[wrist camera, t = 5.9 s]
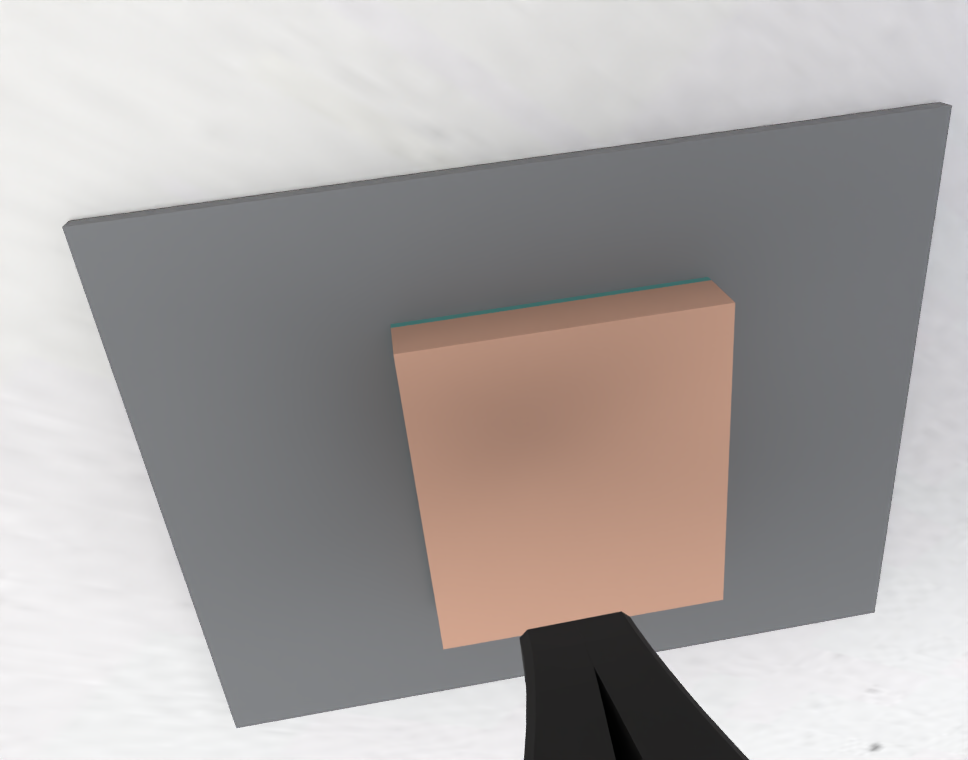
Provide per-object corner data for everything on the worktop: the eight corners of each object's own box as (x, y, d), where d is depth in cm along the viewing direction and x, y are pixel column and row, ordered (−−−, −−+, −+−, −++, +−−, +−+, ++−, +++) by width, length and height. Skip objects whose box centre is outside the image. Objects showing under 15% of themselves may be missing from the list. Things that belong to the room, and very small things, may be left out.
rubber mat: (940, 102, 18) (951, 105, 18) (867, 602, 25) (874, 612, 24) (68, 221, 17) (62, 227, 16) (238, 716, 23) (236, 728, 23)
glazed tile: (390, 324, 18) (708, 276, 19) (438, 606, 22) (701, 560, 22) (393, 354, 17) (735, 302, 17) (443, 649, 21) (723, 599, 21)
